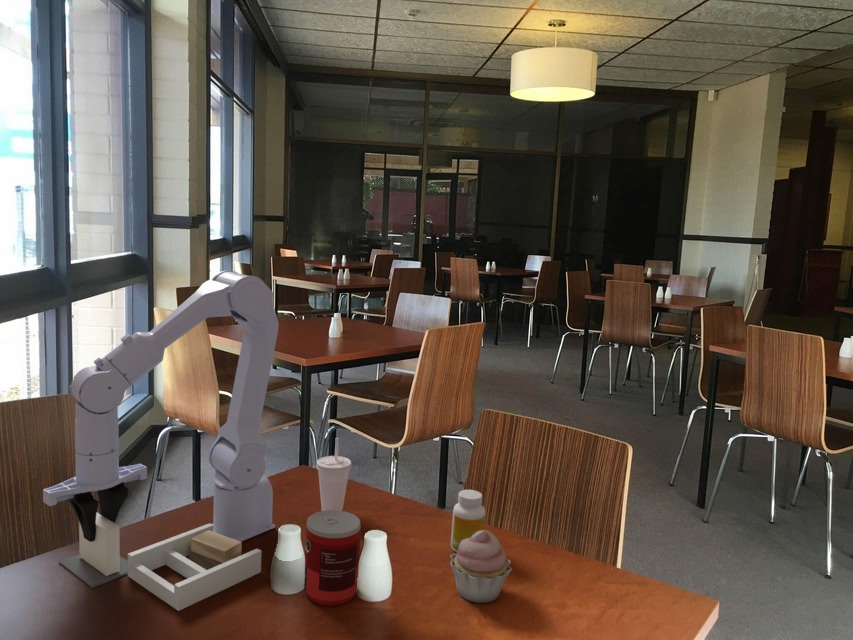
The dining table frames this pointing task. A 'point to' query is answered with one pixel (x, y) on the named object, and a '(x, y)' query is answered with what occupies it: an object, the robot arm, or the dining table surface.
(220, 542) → the offcut top
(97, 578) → the mat
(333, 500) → the smoothie
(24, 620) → the dining table surface
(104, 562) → the cream rectangular block
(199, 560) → the offcut low
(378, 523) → the dining table surface
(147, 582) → the rack
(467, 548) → the cupcake
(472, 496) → the supplement bottle
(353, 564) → the canned food
